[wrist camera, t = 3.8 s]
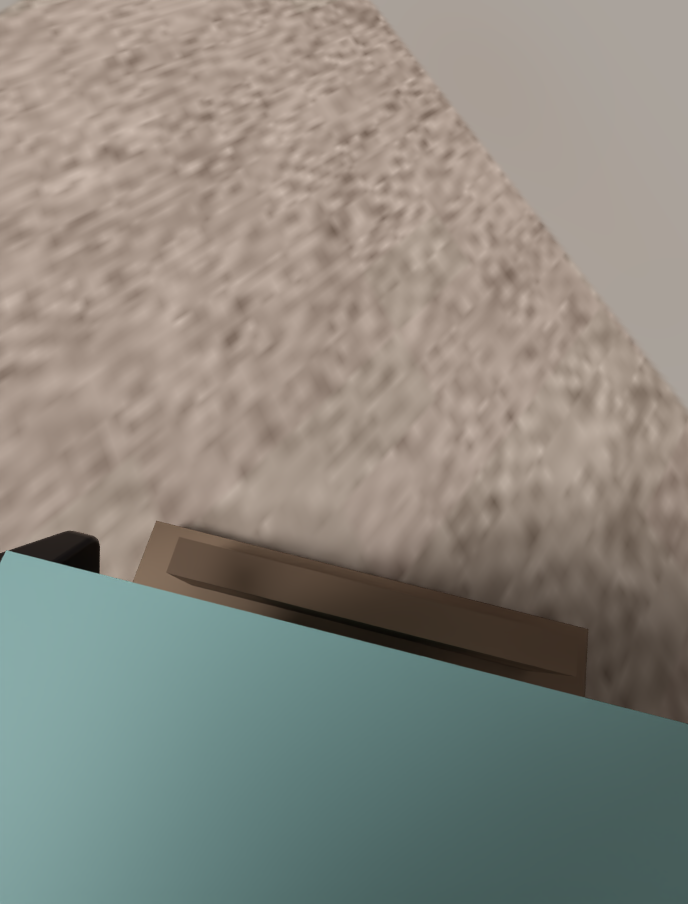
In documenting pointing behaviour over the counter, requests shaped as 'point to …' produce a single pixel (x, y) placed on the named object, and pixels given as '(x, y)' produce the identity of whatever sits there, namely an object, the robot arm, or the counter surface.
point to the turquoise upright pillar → (306, 765)
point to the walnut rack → (366, 607)
